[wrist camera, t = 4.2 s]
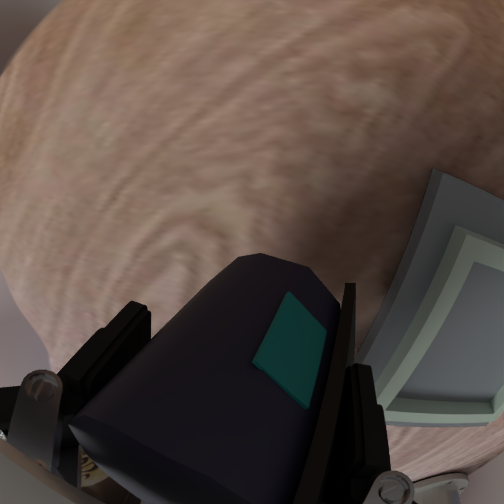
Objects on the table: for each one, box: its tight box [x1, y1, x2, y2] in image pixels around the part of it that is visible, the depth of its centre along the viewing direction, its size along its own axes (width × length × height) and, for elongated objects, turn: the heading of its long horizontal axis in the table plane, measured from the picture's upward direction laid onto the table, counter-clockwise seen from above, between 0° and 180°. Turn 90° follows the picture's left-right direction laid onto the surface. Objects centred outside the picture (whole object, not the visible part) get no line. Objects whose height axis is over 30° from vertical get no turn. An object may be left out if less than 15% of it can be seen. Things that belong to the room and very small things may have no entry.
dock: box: [354, 168, 504, 427], centre depth 14 cm, size 16×15×2 cm
